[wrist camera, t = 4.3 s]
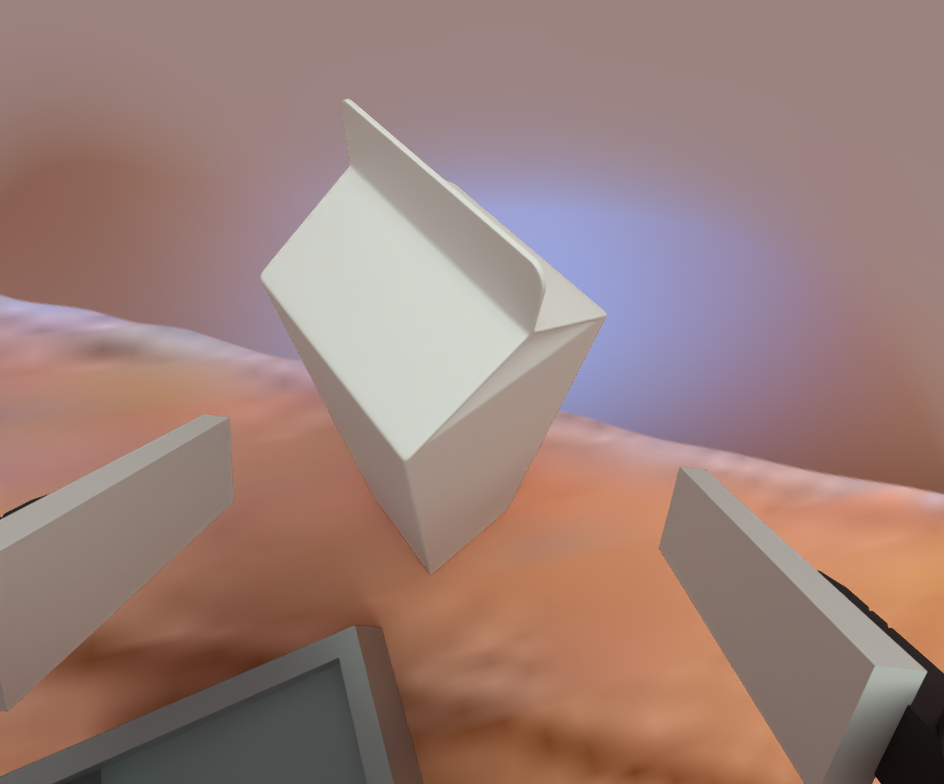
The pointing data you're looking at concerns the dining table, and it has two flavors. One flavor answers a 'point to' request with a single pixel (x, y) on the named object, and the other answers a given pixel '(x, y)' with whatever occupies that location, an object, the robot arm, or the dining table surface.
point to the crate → (261, 728)
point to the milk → (428, 339)
